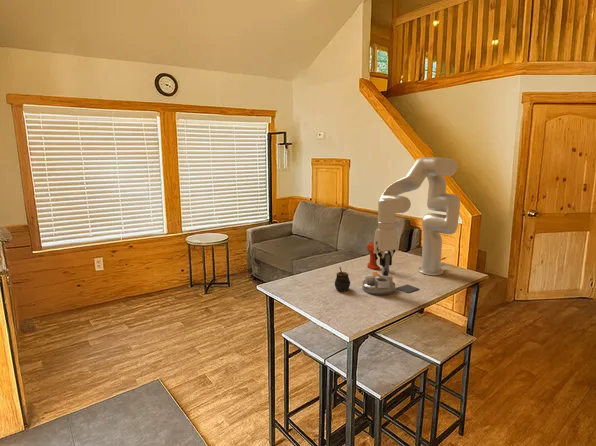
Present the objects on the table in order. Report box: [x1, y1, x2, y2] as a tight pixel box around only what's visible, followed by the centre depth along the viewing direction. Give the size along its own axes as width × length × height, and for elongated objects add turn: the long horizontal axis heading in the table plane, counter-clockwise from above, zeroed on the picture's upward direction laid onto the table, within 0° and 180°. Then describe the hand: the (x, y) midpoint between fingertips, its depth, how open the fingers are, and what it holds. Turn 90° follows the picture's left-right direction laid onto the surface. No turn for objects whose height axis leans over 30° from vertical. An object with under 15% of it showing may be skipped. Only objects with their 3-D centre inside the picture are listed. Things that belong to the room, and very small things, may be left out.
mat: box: [395, 284, 420, 294], centre depth 176 cm, size 8×7×1 cm
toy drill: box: [366, 241, 381, 271], centre depth 202 cm, size 5×19×15 cm, turn 33°
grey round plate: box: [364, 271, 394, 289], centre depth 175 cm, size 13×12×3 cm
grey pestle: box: [381, 252, 390, 276], centre depth 170 cm, size 3×3×10 cm
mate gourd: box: [334, 266, 351, 292], centre depth 176 cm, size 7×8×10 cm
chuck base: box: [361, 279, 396, 297], centre depth 176 cm, size 15×15×3 cm
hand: (385, 264), depth 170 cm, fingers closed on grey pestle, 3 cm apart
